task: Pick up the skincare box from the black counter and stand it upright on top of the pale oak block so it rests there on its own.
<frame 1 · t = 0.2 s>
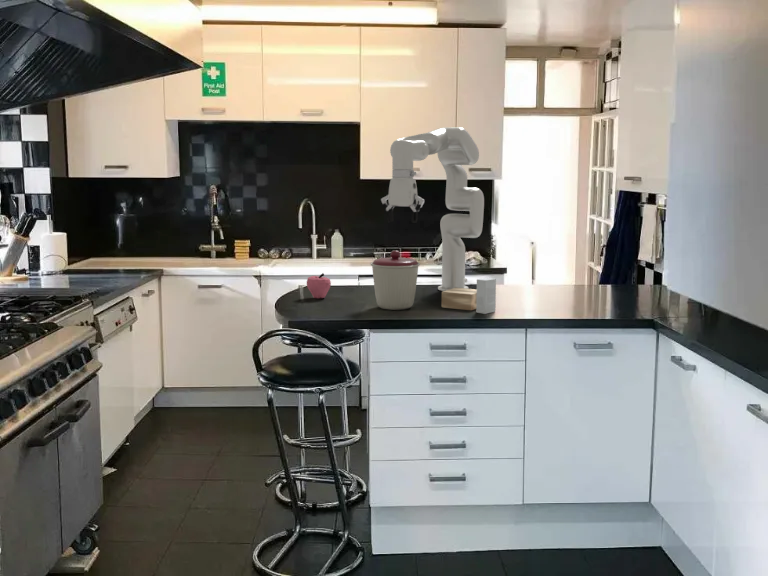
hand: (402, 222, 297), 31 cm above the countertop, fingers open, 9 cm apart
oak block: (463, 306, 303), on the countertop
canister: (395, 308, 299), on the countertop
skincare box: (485, 312, 291), on the countertop
apple: (318, 298, 320), on the countertop
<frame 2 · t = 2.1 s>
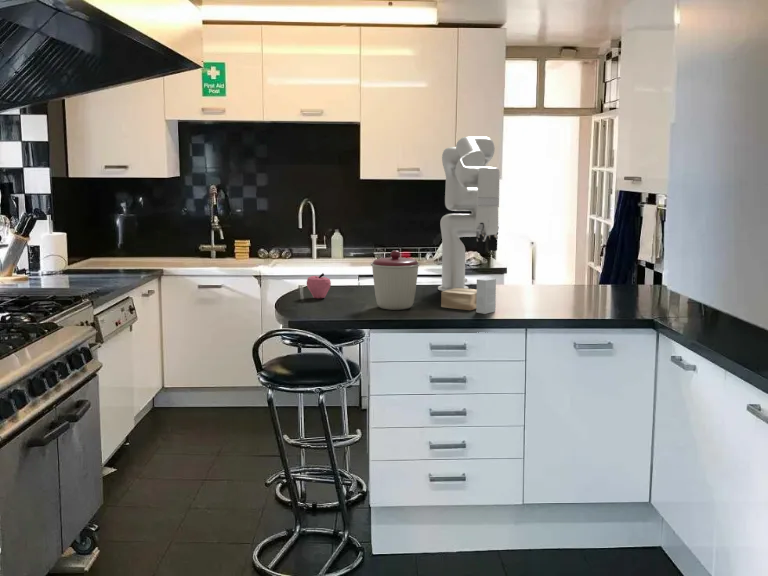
hand: (487, 251, 287), 22 cm above the countertop, fingers open, 9 cm apart
nothing on the countertop moved.
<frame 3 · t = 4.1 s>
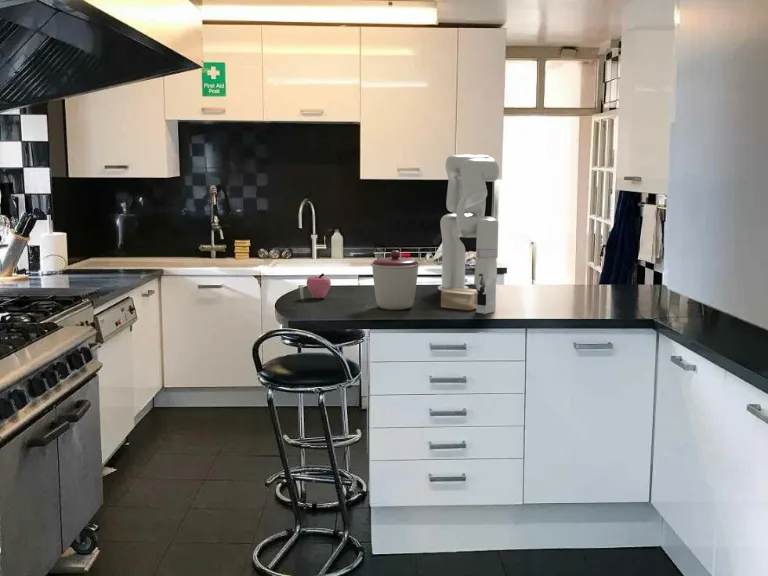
hand: (485, 303, 290), 3 cm above the countertop, fingers closed on skincare box, 6 cm apart
skincare box: (485, 312, 291), on the countertop, touching gripper
everything else where it was.
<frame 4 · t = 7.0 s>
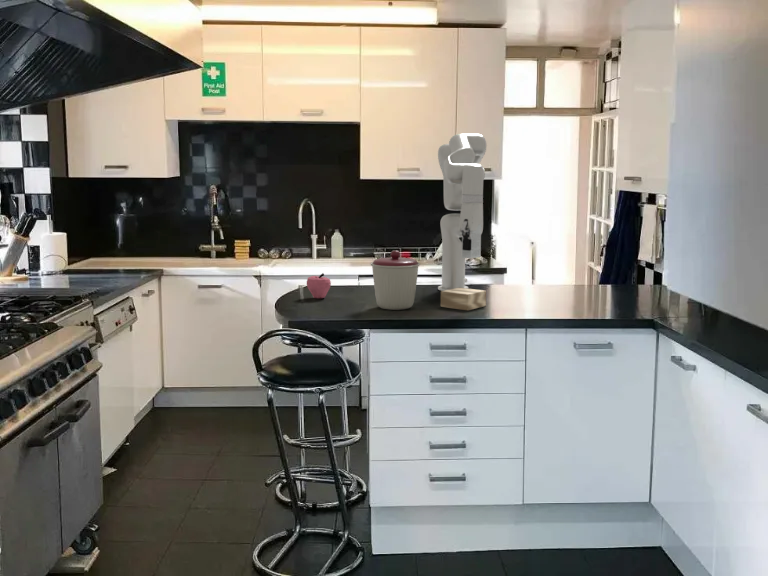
hand: (471, 248, 296), 22 cm above the countertop, fingers closed on skincare box, 6 cm apart
skincare box: (471, 258, 296), point 18 cm above the countertop, touching gripper
everything else where it was.
when the fingers open (11 cm above the countertop, at t = 10.1 s): skincare box drops 1 cm, resting on oak block.
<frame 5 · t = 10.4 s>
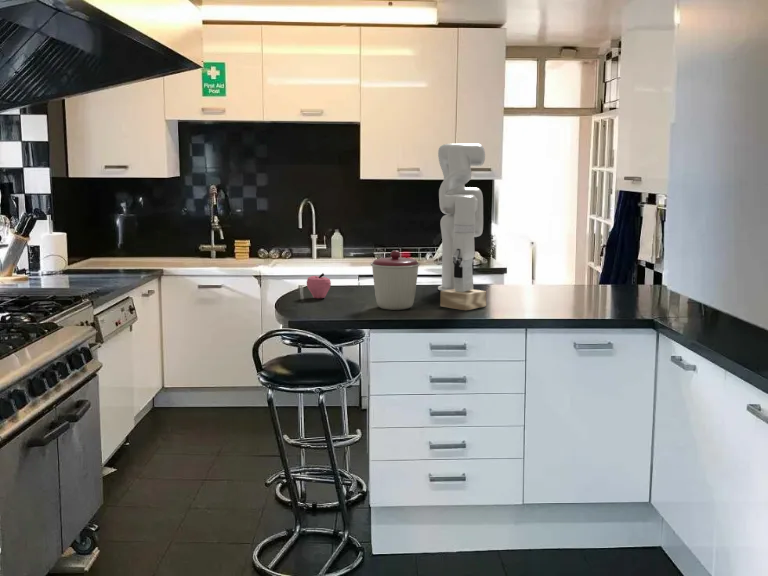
hand: (463, 276, 301), 11 cm above the countertop, fingers open, 9 cm apart
oak block: (463, 307, 303), on the countertop, touching skincare box
skincare box: (464, 291, 302), point 6 cm above the countertop, touching oak block
everything else where it was.
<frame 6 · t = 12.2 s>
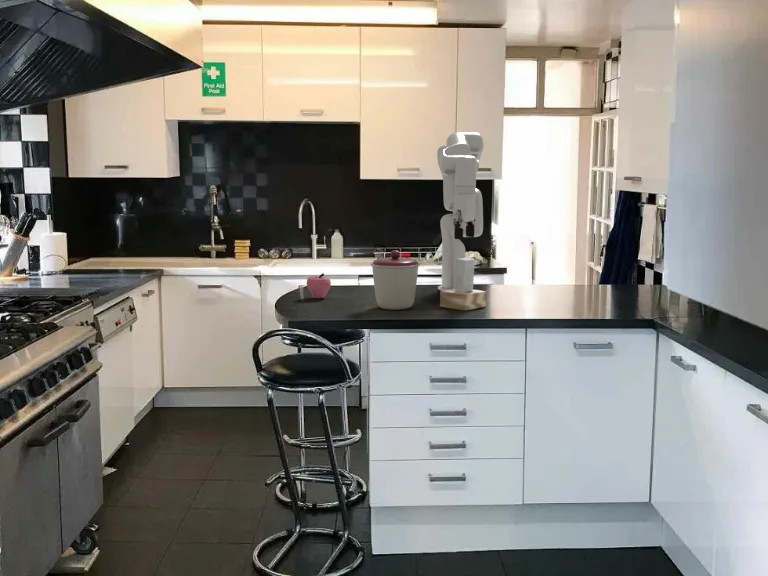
hand: (464, 237, 299), 25 cm above the countertop, fingers open, 9 cm apart
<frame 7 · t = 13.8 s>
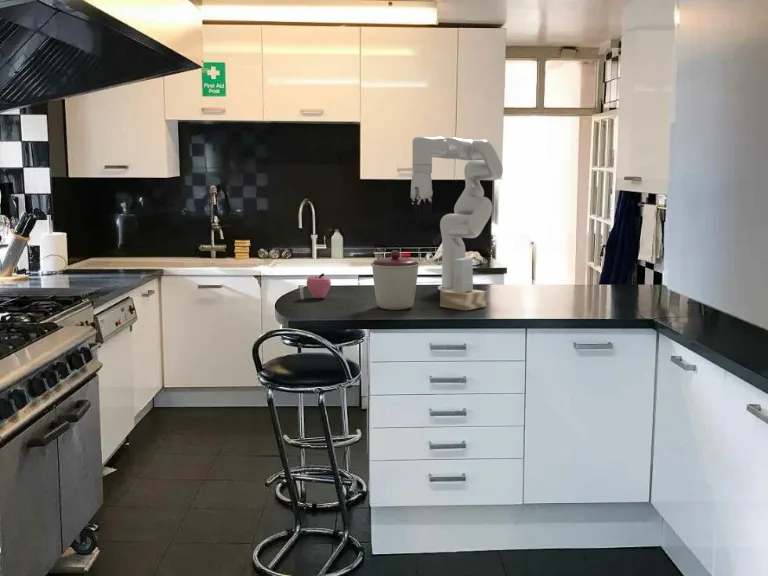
hand: (422, 213, 318), 33 cm above the countertop, fingers open, 9 cm apart
nothing on the countertop moved.
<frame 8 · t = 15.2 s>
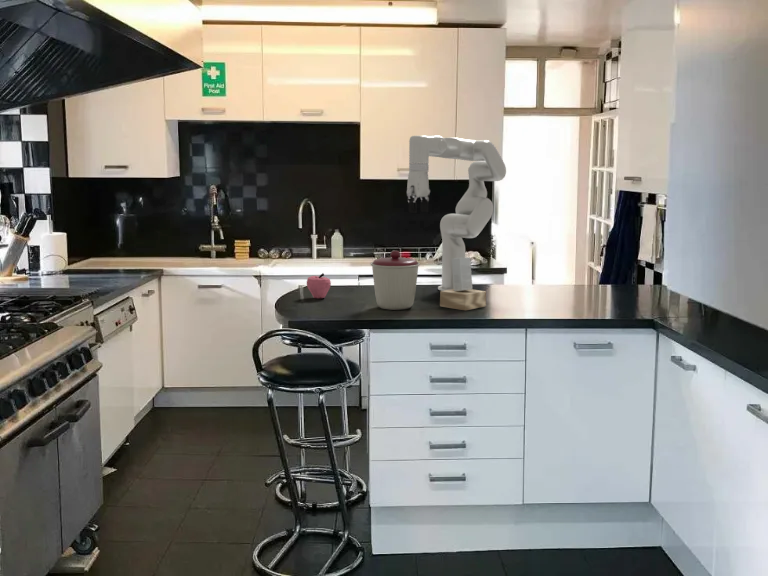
hand: (418, 212, 319), 33 cm above the countertop, fingers open, 9 cm apart
oak block: (462, 307, 303), on the countertop
skincare box: (463, 290, 301), point 6 cm above the countertop
everything else where it was.
at the end: skincare box inside the target area on the oak block (0.4 cm from its centre), point 6.1 cm above the oak block's base; skincare box tilted 7°; skincare box touching oak block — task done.
